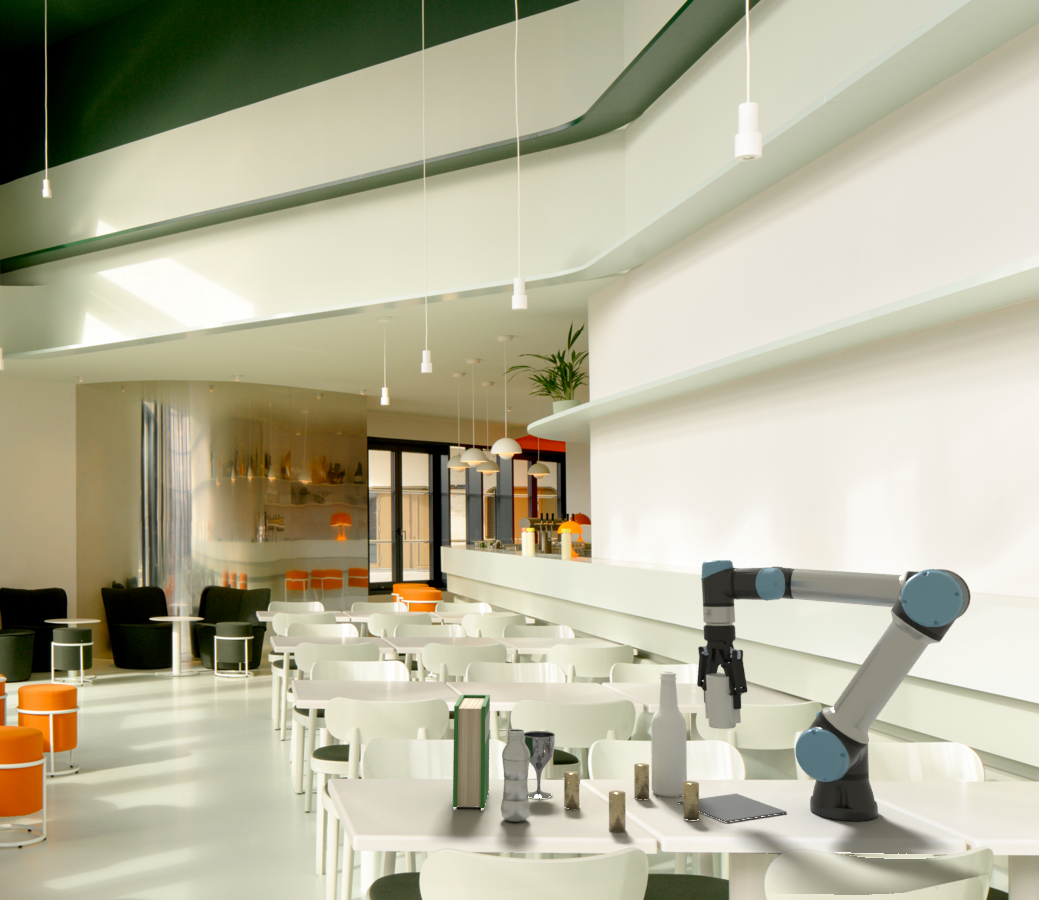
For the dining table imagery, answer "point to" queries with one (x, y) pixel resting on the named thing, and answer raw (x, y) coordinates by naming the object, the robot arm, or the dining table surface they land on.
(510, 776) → the plastic bottle
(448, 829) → the dining table surface
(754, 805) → the mat
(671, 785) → the alcohol
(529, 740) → the wine glass
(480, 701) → the hardback book
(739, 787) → the dining table surface
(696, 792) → the spacer posts
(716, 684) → the mug
